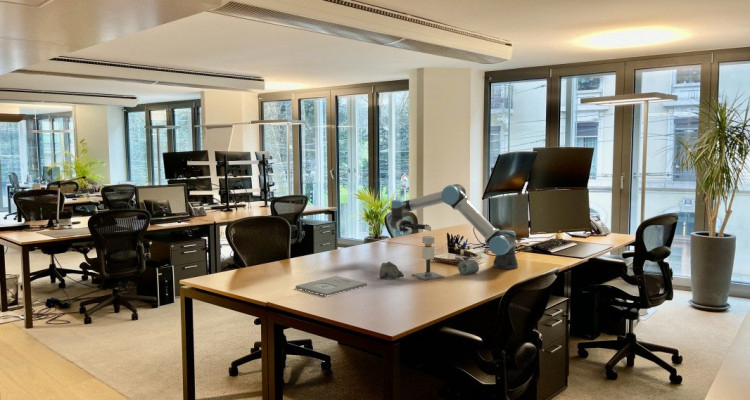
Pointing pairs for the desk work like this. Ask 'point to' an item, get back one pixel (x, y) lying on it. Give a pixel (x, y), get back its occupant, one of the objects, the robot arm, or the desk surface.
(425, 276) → the stand
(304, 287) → the award plaque
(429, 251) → the sleeve
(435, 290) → the desk surface
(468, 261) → the grey oval lump
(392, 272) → the mineral rock
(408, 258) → the desk surface
